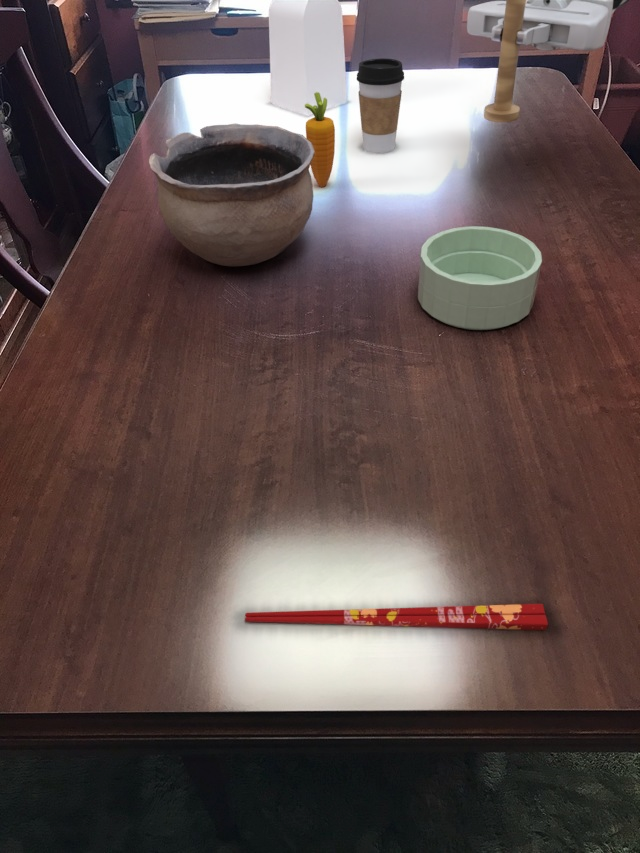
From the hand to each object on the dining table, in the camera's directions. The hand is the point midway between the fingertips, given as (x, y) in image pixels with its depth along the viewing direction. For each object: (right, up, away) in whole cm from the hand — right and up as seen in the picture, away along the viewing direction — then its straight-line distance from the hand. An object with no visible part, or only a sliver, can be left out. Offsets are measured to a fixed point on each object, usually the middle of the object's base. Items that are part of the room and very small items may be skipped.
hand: (508, 36), depth 96 cm
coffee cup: (-15, -3, +33) cm, 37 cm away
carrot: (-26, -14, +21) cm, 36 cm away
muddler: (+1, -8, +8) cm, 11 cm away
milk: (-29, +15, +53) cm, 62 cm away
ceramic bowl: (-38, -29, +6) cm, 48 cm away
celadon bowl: (-6, -39, -7) cm, 40 cm away
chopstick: (-21, -71, -41) cm, 84 cm away
